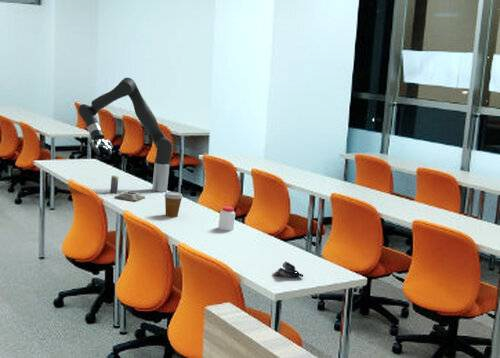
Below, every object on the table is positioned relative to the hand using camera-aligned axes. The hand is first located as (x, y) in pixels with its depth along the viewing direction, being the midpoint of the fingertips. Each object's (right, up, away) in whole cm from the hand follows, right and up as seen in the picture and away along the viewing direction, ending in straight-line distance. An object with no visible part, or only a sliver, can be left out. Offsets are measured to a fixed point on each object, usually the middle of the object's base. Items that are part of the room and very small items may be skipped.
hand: (105, 154), depth 386 cm
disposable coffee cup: (+45, -34, -45) cm, 72 cm away
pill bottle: (+74, -40, -60) cm, 103 cm away
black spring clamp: (+102, -54, -126) cm, 170 cm away
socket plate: (+17, -26, -14) cm, 34 cm away
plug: (+6, -23, -4) cm, 24 cm away
